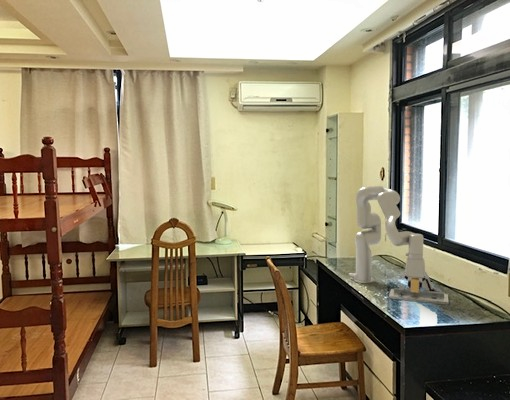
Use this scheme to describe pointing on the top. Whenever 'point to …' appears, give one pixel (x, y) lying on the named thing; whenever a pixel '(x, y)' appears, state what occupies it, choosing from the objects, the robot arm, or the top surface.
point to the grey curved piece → (427, 284)
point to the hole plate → (419, 298)
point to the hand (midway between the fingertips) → (414, 288)
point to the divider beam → (408, 291)
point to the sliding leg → (414, 284)
